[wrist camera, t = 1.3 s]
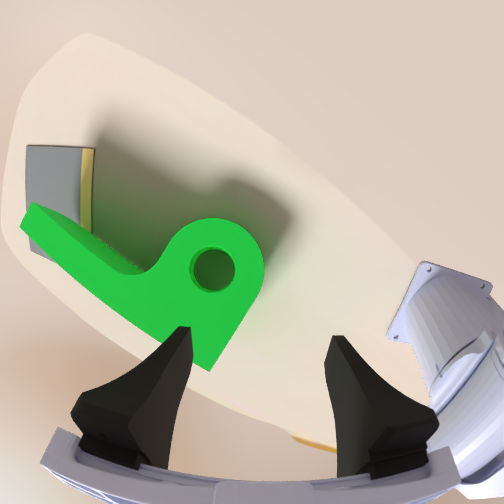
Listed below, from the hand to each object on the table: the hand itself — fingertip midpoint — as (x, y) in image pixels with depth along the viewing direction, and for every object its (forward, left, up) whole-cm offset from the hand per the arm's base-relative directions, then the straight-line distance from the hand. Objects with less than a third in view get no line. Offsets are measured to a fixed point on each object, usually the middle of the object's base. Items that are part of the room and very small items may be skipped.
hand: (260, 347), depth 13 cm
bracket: (+12, 0, -10) cm, 15 cm away
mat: (+25, 0, -10) cm, 27 cm away
